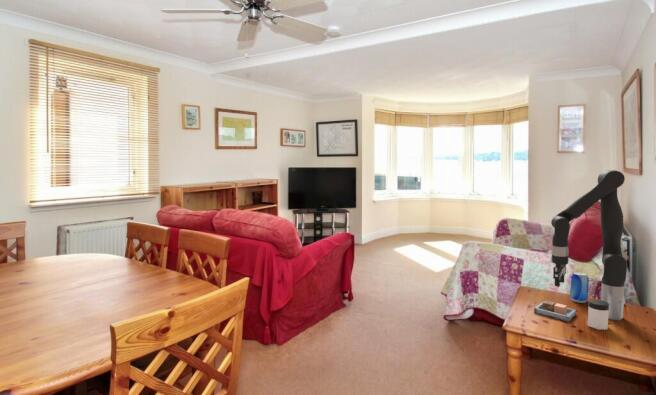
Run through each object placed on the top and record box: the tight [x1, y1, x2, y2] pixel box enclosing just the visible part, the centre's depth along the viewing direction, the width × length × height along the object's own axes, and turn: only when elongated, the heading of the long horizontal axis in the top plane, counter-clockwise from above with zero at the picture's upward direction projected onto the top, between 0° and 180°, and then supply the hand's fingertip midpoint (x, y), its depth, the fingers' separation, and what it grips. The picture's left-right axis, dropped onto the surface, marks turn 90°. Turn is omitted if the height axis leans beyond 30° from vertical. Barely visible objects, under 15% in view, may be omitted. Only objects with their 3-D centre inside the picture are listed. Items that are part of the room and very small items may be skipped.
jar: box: [586, 298, 609, 331], centre depth 183 cm, size 9×8×12 cm
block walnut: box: [542, 300, 556, 312], centre depth 200 cm, size 4×4×4 cm
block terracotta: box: [554, 302, 568, 315], centre depth 196 cm, size 4×4×4 cm
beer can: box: [569, 271, 590, 304], centre depth 215 cm, size 8×8×16 cm
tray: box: [533, 301, 577, 323], centre depth 198 cm, size 16×13×2 cm
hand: (559, 284), depth 200 cm, fingers open, 8 cm apart
